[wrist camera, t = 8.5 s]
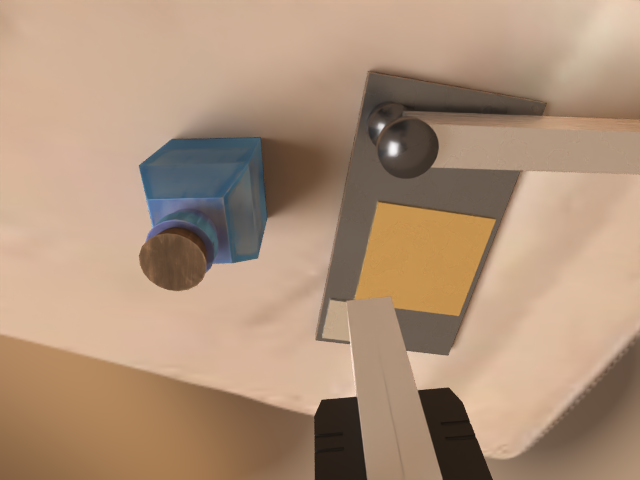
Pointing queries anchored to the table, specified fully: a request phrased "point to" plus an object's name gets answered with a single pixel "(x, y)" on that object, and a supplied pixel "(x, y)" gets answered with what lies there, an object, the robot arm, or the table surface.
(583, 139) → the swing arm
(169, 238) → the perfume bottle
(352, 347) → the robot arm
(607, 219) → the table surface
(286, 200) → the table surface
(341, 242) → the tray
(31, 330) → the table surface
